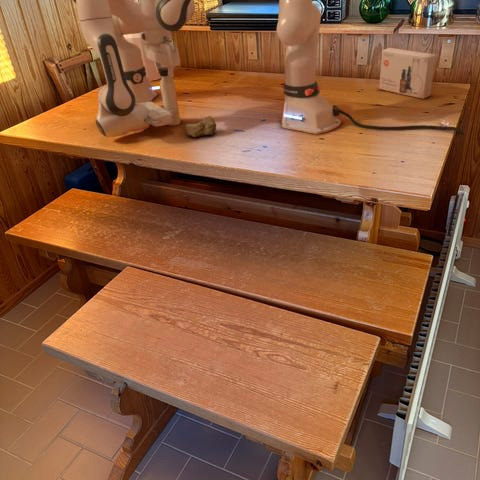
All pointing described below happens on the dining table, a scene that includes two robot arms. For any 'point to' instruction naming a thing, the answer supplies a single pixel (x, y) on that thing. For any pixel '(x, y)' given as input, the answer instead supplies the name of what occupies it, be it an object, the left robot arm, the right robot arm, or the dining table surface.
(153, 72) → the container
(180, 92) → the dining table surface
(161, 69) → the cap
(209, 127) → the rock
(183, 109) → the dining table surface
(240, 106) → the dining table surface
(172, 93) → the bottle
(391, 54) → the skincare box
